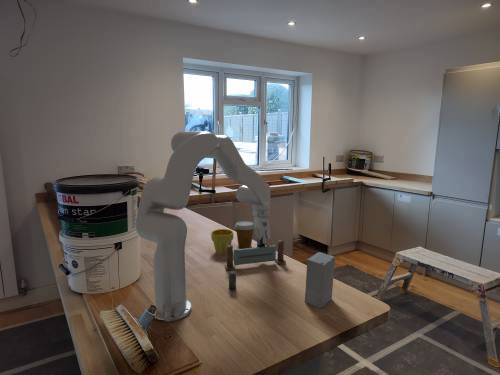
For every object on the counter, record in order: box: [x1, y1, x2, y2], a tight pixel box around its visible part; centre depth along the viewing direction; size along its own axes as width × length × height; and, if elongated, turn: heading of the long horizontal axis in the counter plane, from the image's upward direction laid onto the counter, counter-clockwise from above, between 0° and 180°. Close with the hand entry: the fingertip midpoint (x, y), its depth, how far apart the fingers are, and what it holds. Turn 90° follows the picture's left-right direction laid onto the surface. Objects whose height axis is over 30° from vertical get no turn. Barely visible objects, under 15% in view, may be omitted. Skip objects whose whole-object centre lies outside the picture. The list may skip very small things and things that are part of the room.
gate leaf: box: [233, 244, 277, 266], centre depth 137 cm, size 18×2×7 cm, turn 106°
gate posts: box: [224, 239, 287, 291], centre depth 129 cm, size 28×20×10 cm
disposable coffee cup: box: [234, 220, 254, 249], centre depth 160 cm, size 10×10×12 cm
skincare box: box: [304, 251, 336, 309], centre depth 108 cm, size 8×7×16 cm
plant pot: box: [210, 228, 234, 255], centre depth 154 cm, size 10×10×10 cm
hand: (260, 252), depth 142 cm, fingers closed
